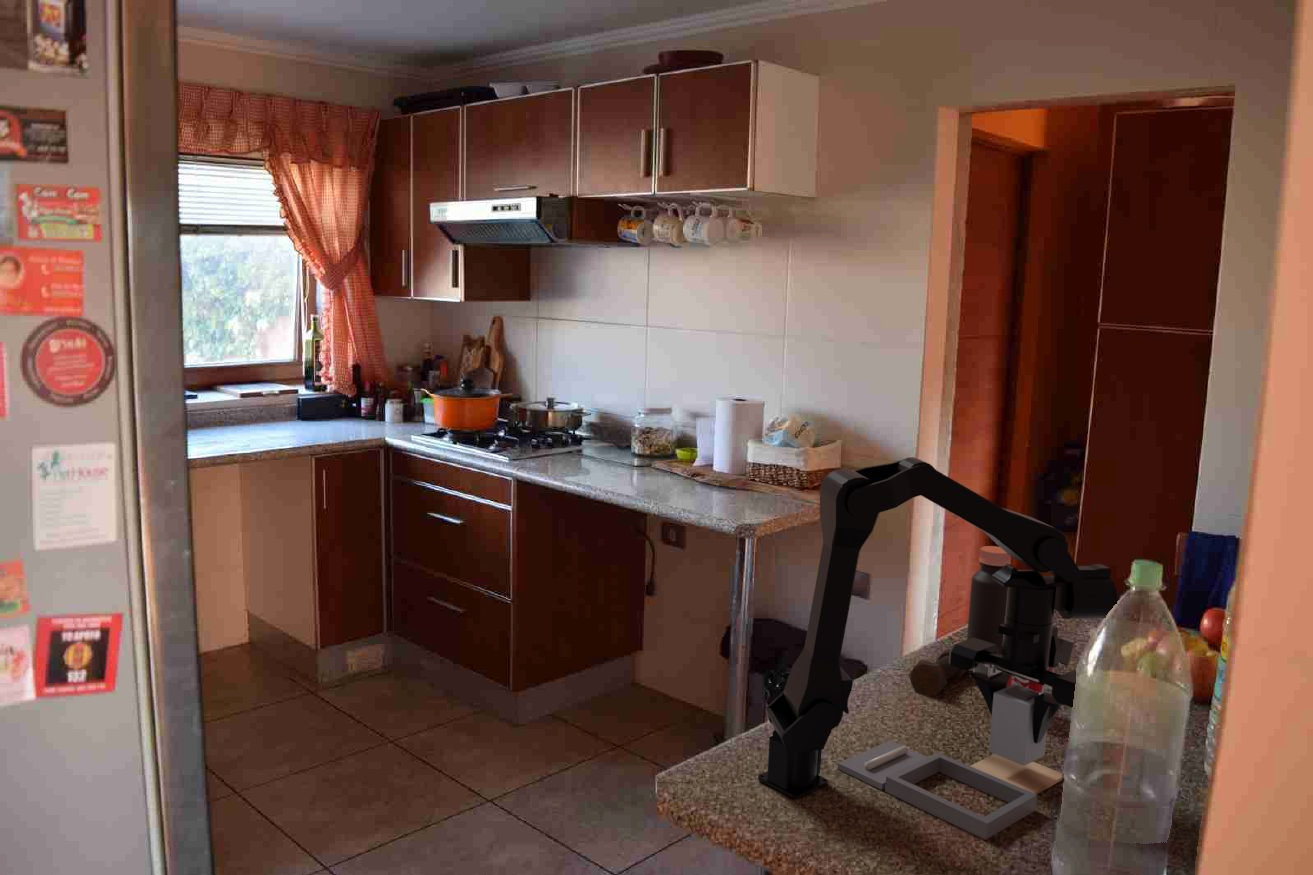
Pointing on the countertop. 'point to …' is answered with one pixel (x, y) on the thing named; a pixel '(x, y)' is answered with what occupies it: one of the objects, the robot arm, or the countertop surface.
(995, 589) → the bottle
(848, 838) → the countertop surface
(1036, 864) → the countertop surface
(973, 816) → the case
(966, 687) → the countertop surface
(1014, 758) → the block
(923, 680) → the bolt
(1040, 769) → the pad
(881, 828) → the countertop surface
